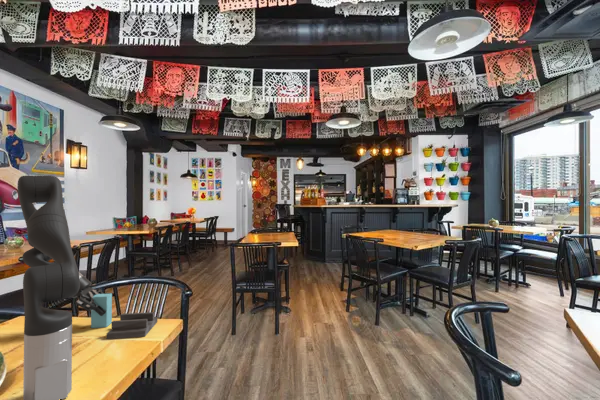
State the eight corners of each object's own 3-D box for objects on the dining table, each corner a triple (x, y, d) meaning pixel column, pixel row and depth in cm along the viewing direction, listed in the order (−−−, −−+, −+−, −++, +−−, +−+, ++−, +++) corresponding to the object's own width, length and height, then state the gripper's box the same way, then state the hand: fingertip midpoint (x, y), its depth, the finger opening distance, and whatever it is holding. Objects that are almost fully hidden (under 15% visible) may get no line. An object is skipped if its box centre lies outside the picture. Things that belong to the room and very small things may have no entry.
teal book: (106, 327, 113) (106, 296, 113) (90, 328, 112) (90, 297, 112) (111, 322, 117) (111, 293, 117) (96, 323, 116) (96, 294, 116)
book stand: (145, 336, 105) (145, 322, 105) (106, 338, 103) (106, 325, 103) (157, 321, 118) (157, 309, 118) (123, 323, 116) (123, 311, 116)
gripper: (69, 280, 106) (105, 311, 108) (91, 271, 120) (122, 299, 122) (53, 295, 105) (89, 326, 107) (77, 284, 120) (109, 312, 121)
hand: (106, 311), depth 115 cm, fingers closed on teal book, 4 cm apart
